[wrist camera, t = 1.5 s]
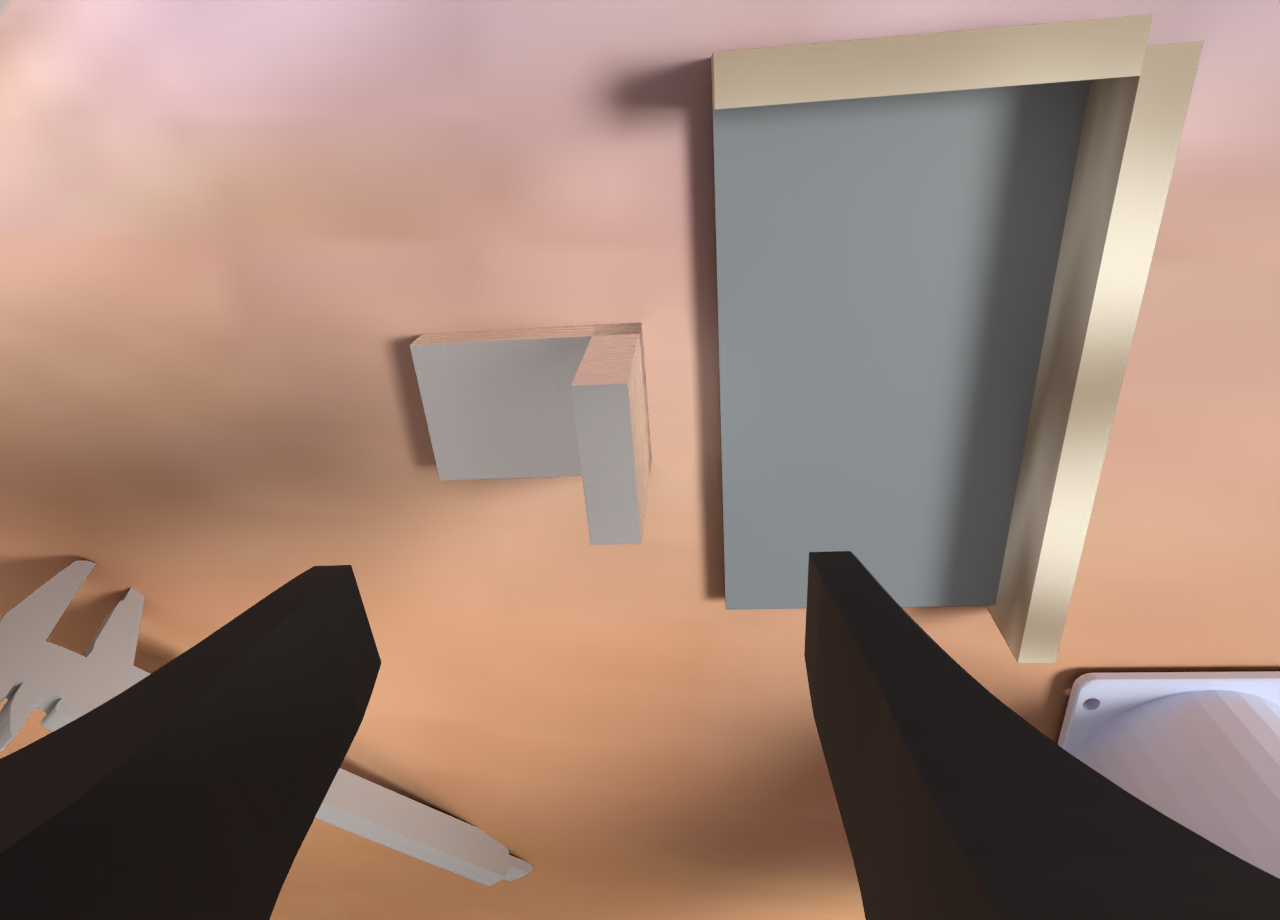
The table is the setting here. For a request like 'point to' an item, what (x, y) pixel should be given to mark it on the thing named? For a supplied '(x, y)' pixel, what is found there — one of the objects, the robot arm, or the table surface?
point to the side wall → (931, 62)
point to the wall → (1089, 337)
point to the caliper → (76, 684)
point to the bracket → (544, 413)
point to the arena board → (884, 331)
